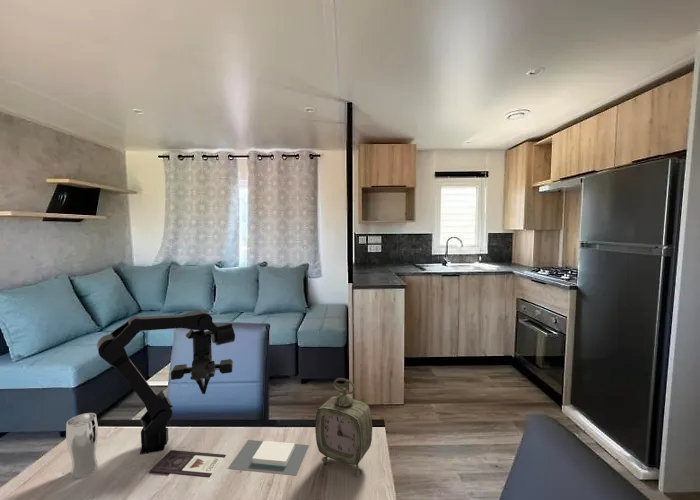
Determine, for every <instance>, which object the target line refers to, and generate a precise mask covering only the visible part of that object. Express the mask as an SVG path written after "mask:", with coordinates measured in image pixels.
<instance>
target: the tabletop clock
mask: <svg viewBox="0 0 700 500" xmlns="http://www.w3.org/2000/svg"><path fill="white" fill-rule="evenodd" d="M339 381H340V382H342V381H343V382H346V383H349V384H350V385H351V386H352V388H353V390H351V391H347V388H346V387H343V388H342V389H340V388H338V387H337V386H336V383H337V382H339ZM332 386H333V387H334V389H335V390H336V391H337V392H338V393H339V394H338V395H337V396H336V395H335V396H332V397H330V398H328V400H327V401H326V402H324V403H323V404H322V405H321V406H320V407H318V408H317V411H316V415H315V425H314V427H315V428H314V429H315V430H314V431H315V440H316V446H317V449H318V451H319V453H321V454H322V455H324V456H323V457H322V459H321V461H322V463H323V464H327V463H328V458H329V459H332V460H334V461H336V462H339V463H342V464H346V465H350V466H355V468H356V469H355V472H354V473H355V475H356V476H357V477H359V476H361V475H362V470H361V469H360V468H359V463H360V462H361V461H362V459H363V458H364V457H365V455H366V454H367V452H368V451H369V449H370V448H371V445H372V441H373V420H372V418H373V417H372V414H371V413H372V411H371V408H370V405H368V404H367V403H366V402H363V401H360V400H357V399H354V398H353V397H352V395H351V394H353V393H355V392H356V386H355V384H354V383H353V382H352V381H351V380H350V379H347V378H343V377H338V378H336V379H335V380H334V381H333V384H332Z"/></svg>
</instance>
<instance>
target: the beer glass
mask: <svg viewBox="0 0 700 500" xmlns="http://www.w3.org/2000/svg"><path fill="white" fill-rule="evenodd" d="M65 431H66V432H65V441H66V447H67V449H68V453H69V456H70V459H71V460H70V461H71V470H70V477H71V478H72V479H80V478H85V477H87V476H89V475H91V474H93V473H94V472H96V471H97V470H98V467H99V463H98V459H97V446H98V439H99V425H98V419H97V414H96V413H94V412H87V413H82V414H78V415H76V416H73V417H71V418H70V419H68V421H67V422H66V429H65Z"/></svg>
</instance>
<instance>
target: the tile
mask: <svg viewBox="0 0 700 500" xmlns="http://www.w3.org/2000/svg"><path fill="white" fill-rule="evenodd" d="M262 441H263V442H262V444H261V446H260V447H259V449H258V450H257V452H256V453H255V455H254V456H253V458H252V464H254V465H264V466H275V467H285V468H286V467H287V465H288V463H289V461H290V458H291V456H292V454H293V452H294V450H295V444H296V443H292V442H281V441H272V440H271V441H269V440H262Z"/></svg>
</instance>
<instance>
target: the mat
mask: <svg viewBox="0 0 700 500" xmlns="http://www.w3.org/2000/svg"><path fill="white" fill-rule="evenodd" d="M263 441H264V440H255V439H247V440H246V443H245V444H244V445H243V446H242V448H241V450H240V451H239V452H238V453H237V454H236V456H235V458H234V459H233V460H232V462H231V463H230V465H229V466H228V467H227V469H228V470H234V471H235V470H237V471H244V472H245V471H247V472H258V473H266V474H276V475H285V476H287V475H288V476H297V475H298V473H299V470H300V468H301V466H302V463H303V461H304V458H305V457H306V454H307V451H308V449H309V447H310V445H309V444H301V443H295V450H294V452H293V454H292V456H291V458H290V461H289V463H288V465H287V467H286V468H285V467H275V466H264V465H254V464H252V458H253V456H254V455H255V453H256V452H257V450H258V449H259V447H260V446H261V444H262V442H263Z"/></svg>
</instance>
